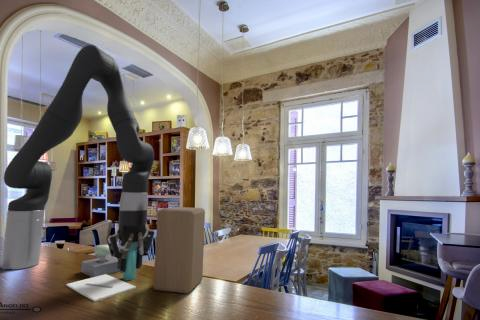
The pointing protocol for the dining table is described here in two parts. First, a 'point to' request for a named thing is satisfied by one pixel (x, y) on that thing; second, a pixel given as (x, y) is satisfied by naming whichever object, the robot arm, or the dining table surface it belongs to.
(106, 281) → the pad
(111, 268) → the button housing
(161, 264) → the wooden block
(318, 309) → the dining table surface
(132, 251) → the marker
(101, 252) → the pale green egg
